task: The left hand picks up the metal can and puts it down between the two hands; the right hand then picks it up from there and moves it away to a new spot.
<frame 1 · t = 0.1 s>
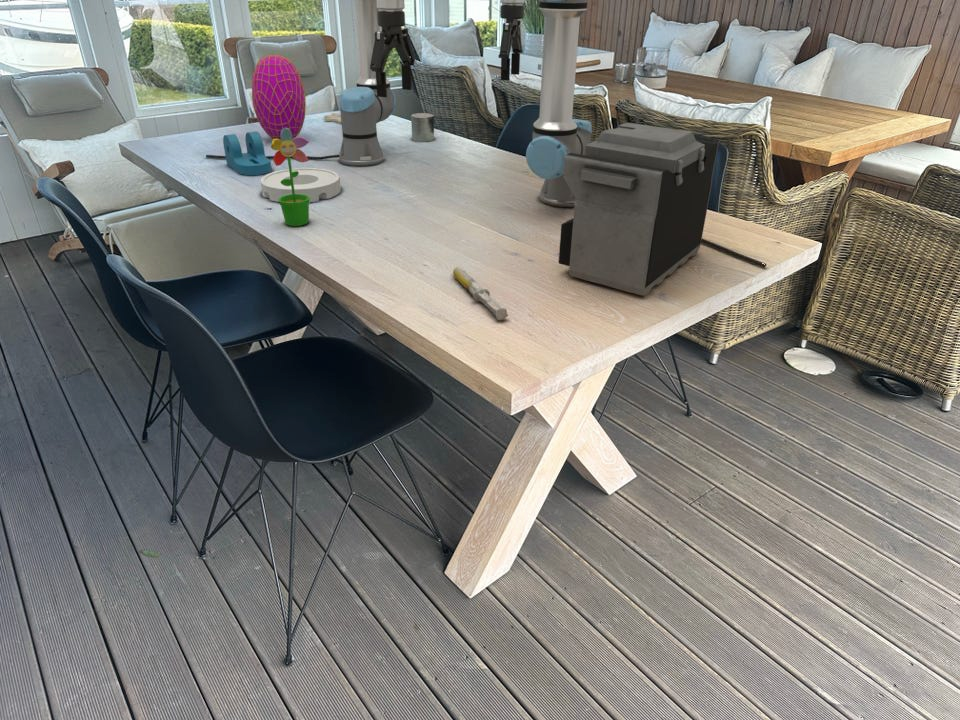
left hand: (510, 77, 225), 28 cm above the table, tool pointing down, fingers open, 13 cm apart
right hand: (394, 93, 197), 28 cm above the table, tool pointing down, fingers open, 13 cm apart
camera mount: (251, 168, 229), on the table
grey cooler box: (630, 264, 162), on the table
decorative egg: (284, 140, 265), on the table
potted flower: (298, 223, 184), on the table
syringe: (478, 297, 145), on the table
white notched ring base: (302, 191, 208), on the table
can: (423, 139, 269), on the table
decorative sign: (341, 122, 295), on the table
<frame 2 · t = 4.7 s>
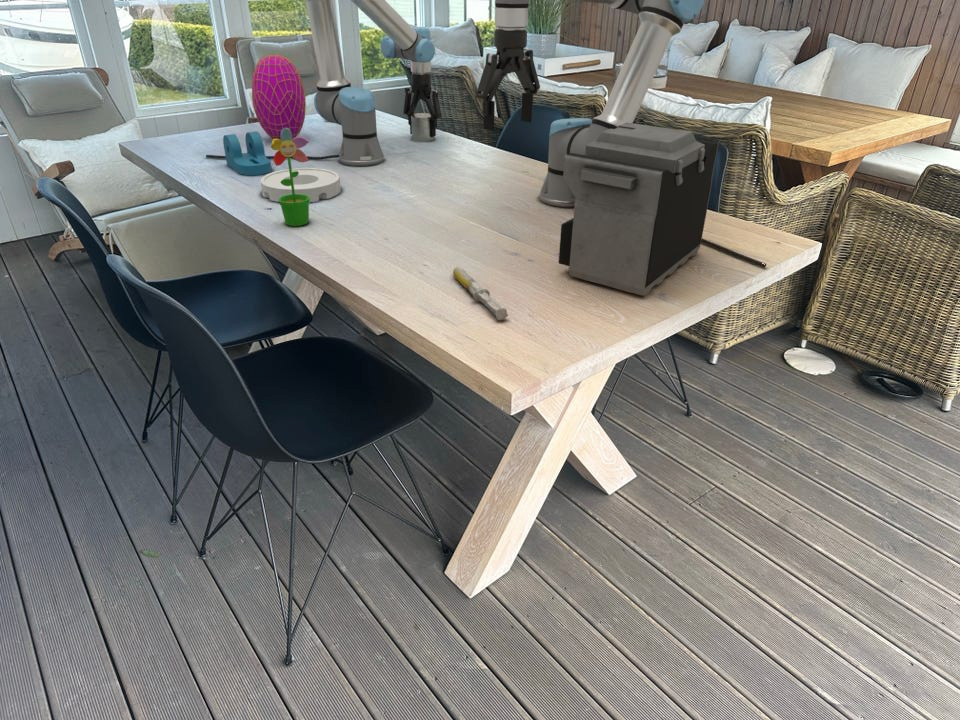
left hand: (423, 135, 268), 2 cm above the table, tool pointing down, fingers closed on can, 9 cm apart
right hand: (507, 125, 166), 27 cm above the table, tool pointing down, fingers open, 13 cm apart
can: (423, 139, 269), on the table, touching left hand
everything else where it was.
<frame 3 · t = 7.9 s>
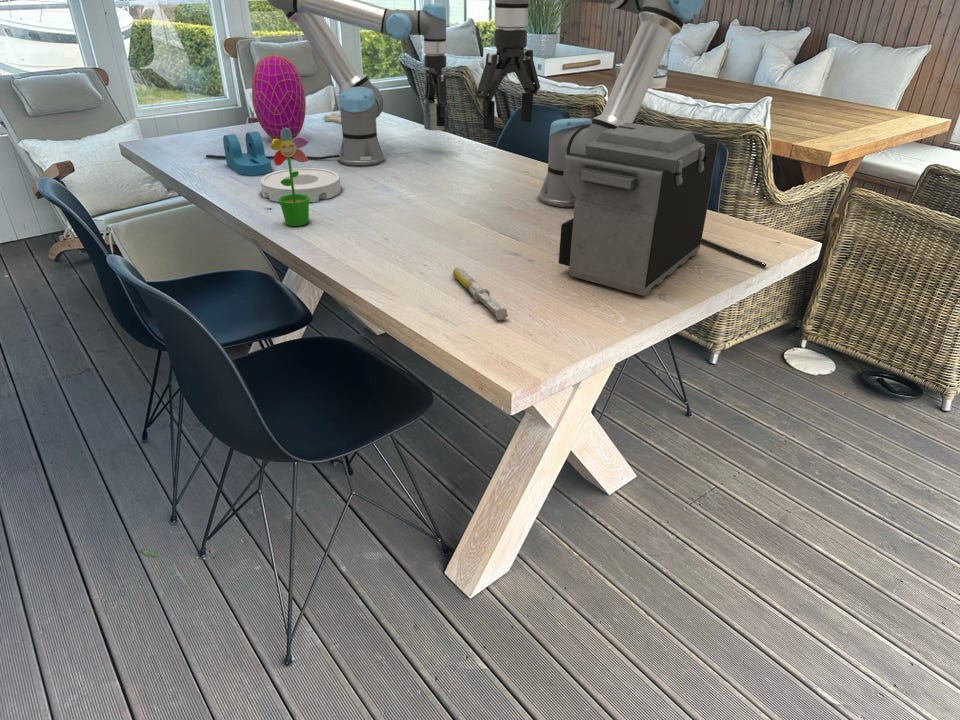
left hand: (436, 123, 245), 10 cm above the table, tool pointing down, fingers closed on can, 9 cm apart
right hand: (507, 125, 166), 27 cm above the table, tool pointing down, fingers open, 13 cm apart
can: (436, 127, 246), point 9 cm above the table, touching left hand
everything else where it was.
when the left hand's fingers open (3 cm above the table, at t = 11.6 s): can stays where it is, on the table.
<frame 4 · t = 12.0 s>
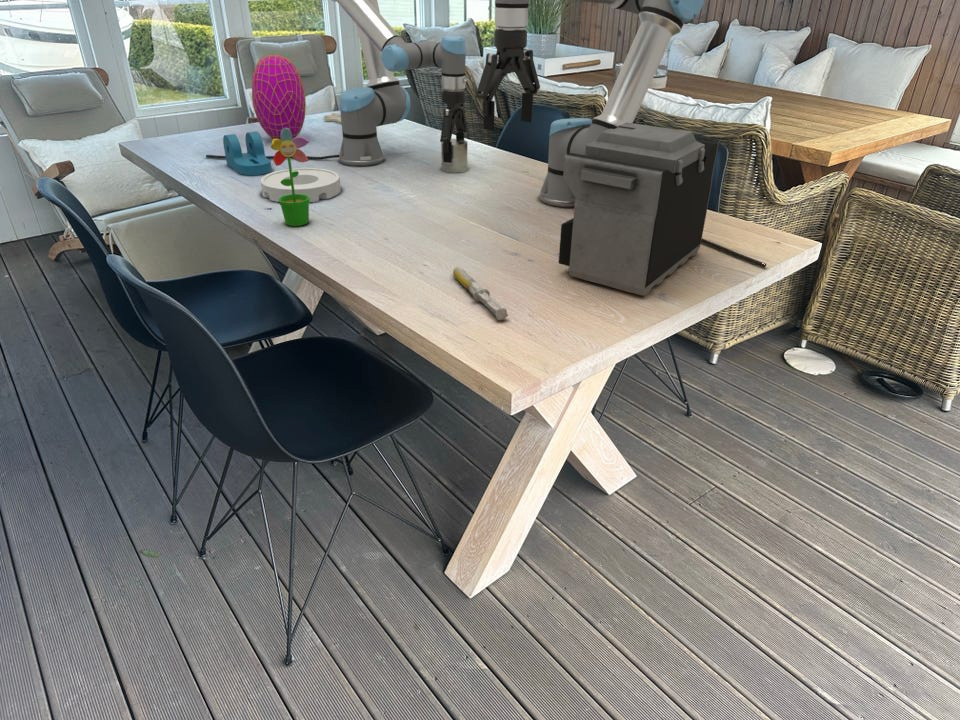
left hand: (454, 157, 230), 4 cm above the table, tool pointing down, fingers open, 13 cm apart
right hand: (507, 125, 166), 27 cm above the table, tool pointing down, fingers open, 13 cm apart
can: (454, 169, 232), on the table
everything else where it was.
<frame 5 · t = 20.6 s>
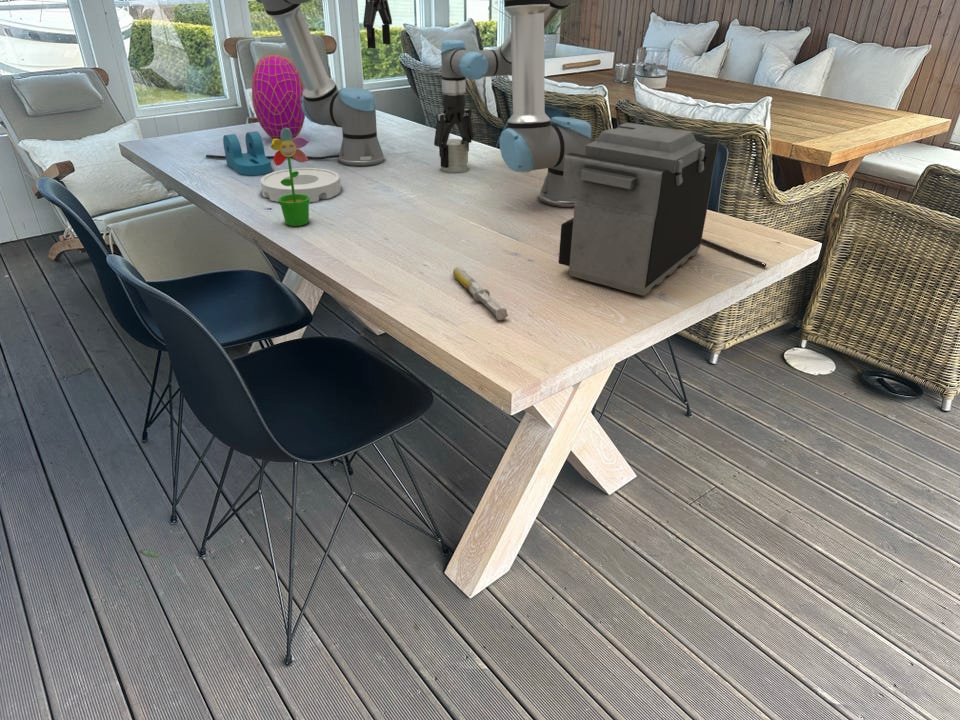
left hand: (379, 46, 251), 33 cm above the table, tool pointing down, fingers open, 13 cm apart
right hand: (454, 164, 231), 2 cm above the table, tool pointing down, fingers closed on can, 9 cm apart
can: (454, 169, 232), on the table, touching right hand
everything else where it was.
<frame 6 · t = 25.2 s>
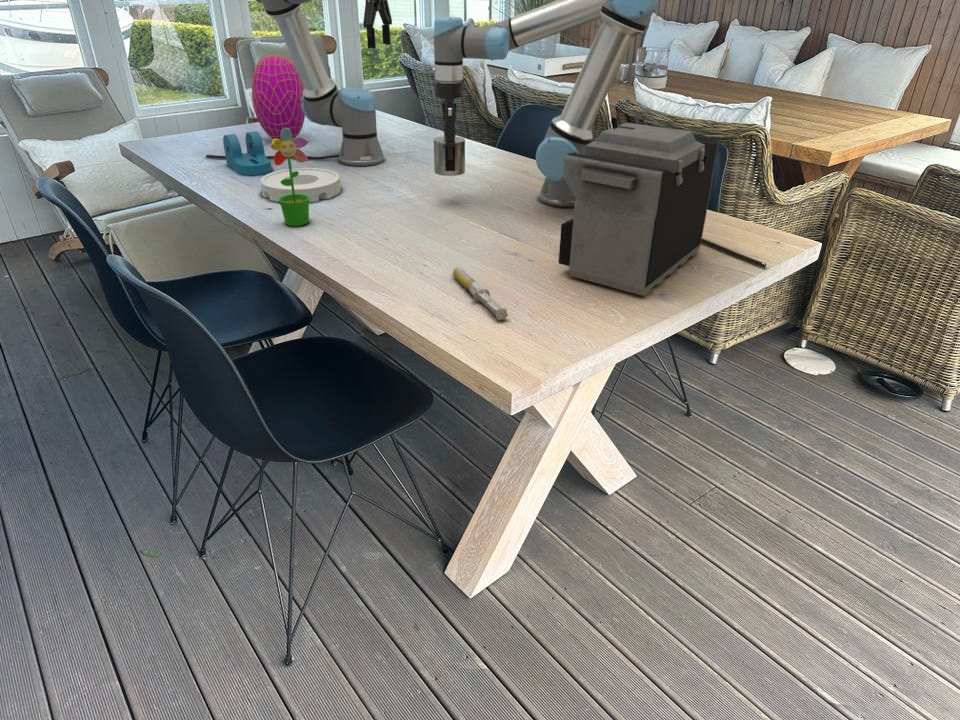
left hand: (379, 46, 251), 33 cm above the table, tool pointing down, fingers open, 13 cm apart
right hand: (449, 166, 195), 11 cm above the table, tool pointing down, fingers closed on can, 9 cm apart
can: (449, 171, 196), point 9 cm above the table, touching right hand
everything else where it was.
when the right hand's fingers open (3 cm above the table, at t = 30.0 s): can stays where it is, on the table.
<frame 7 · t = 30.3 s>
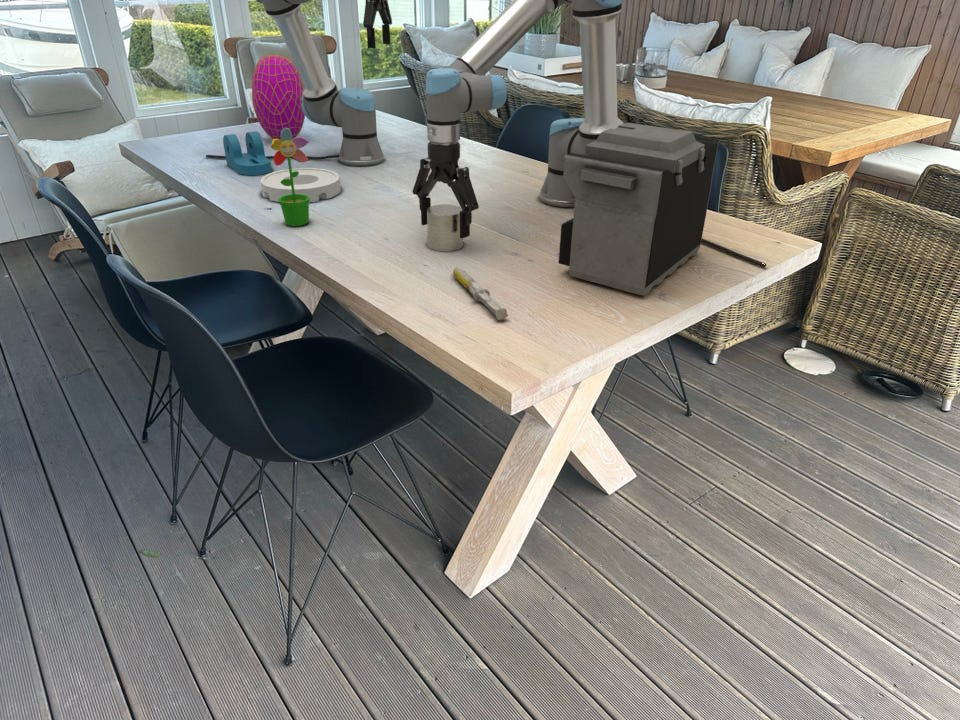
left hand: (379, 46, 251), 33 cm above the table, tool pointing down, fingers open, 13 cm apart
right hand: (445, 230, 169), 4 cm above the table, tool pointing down, fingers open, 13 cm apart
can: (445, 245, 171), on the table
everything else where it was.
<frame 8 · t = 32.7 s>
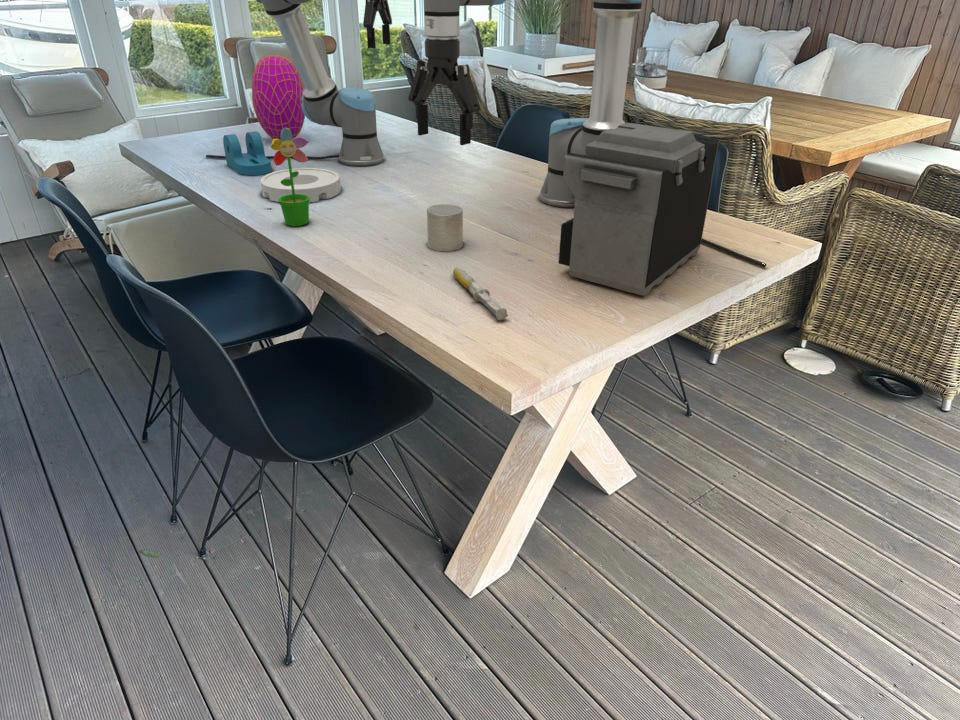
left hand: (379, 46, 251), 33 cm above the table, tool pointing down, fingers open, 13 cm apart
right hand: (443, 139, 158), 26 cm above the table, tool pointing down, fingers open, 13 cm apart
nothing on the table moved.
at the end: can inside the target area (0.0 cm from its centre), on the table; can tilted 0°; the two hands never held the can at the same time; the left hand is holding nothing; the right hand is holding nothing; can at rest at the end (0.0 cm/s) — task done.
